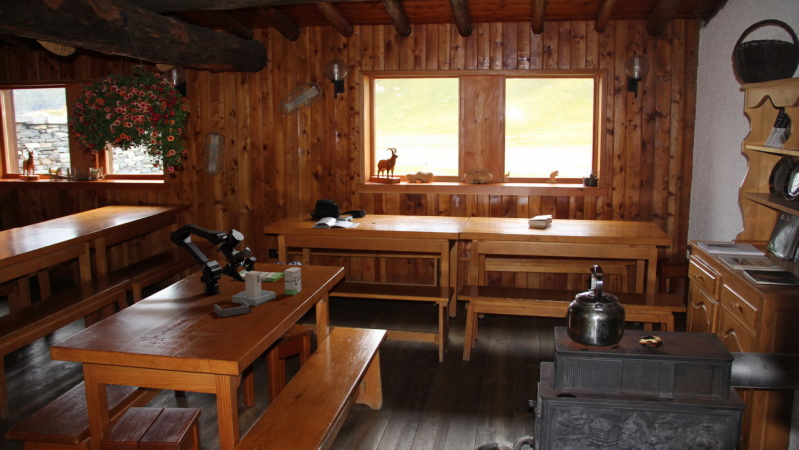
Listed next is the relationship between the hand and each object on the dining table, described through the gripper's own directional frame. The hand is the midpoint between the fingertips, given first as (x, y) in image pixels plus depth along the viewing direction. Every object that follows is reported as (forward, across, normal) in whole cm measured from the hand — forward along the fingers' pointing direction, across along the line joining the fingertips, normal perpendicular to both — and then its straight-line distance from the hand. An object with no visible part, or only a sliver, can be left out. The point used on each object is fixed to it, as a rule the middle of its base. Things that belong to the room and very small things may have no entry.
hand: (249, 279), depth 308 cm
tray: (+8, 0, +5) cm, 10 cm away
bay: (+10, -18, +3) cm, 21 cm away
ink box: (+15, +19, -1) cm, 24 cm away
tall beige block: (+8, 0, +5) cm, 9 cm away
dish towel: (-9, +35, +24) cm, 43 cm away
